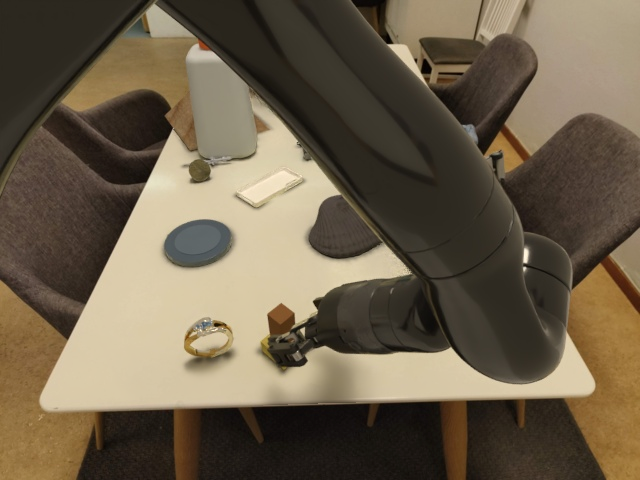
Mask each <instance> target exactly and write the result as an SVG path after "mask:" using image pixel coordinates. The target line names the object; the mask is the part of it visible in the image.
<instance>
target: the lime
mask: <svg viewBox="0 0 640 480" xmlns="http://www.w3.org/2000/svg"><path fill="white" fill-rule="evenodd" d="M204 160H205V159H202V158H199V159H194V160H193V161H191V162H190V163H189V164H190V165H188V167H189V168H188V173H189V175H190V177H191V178H192V179H193V180H194V181H197V182H204V181H206V180H207V179H208V178H209V177H210V176H211V172H212V168H211V166H210V163H207V162H205V161H206V160H205V161H204Z"/></svg>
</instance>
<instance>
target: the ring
mask: <svg viewBox="0 0 640 480" xmlns="http://www.w3.org/2000/svg"><path fill="white" fill-rule="evenodd" d="M193 333H195V334H193ZM216 333H222V334H224V335H226V336H227V341H226V343H225V344H223V345H222V346H221V347H218V348H211V349H209V350H201V349H197V348H195V347H193V346H192V345H191V344H193V343H194V342H195V341H196V340H198V339H199V338H201V337H207V336H208V335H212V334H216ZM233 343H234V334H233V329H232V328H231V327H230V326H229V325H228V324H227V323H226V322H223V321H220V320H216V319H212V318H211V317H209V316H208V317H207V316H205V317H202V318H200V319H198V320H197V321H195V322H193V324H191V326H189V328H188V329H187V330H186V332H185V334H184V339H183V349H184V351H185V352H186V353H187V354H189V355H190V356H194V357H197V358H211V359H214V358H216V357H218V356H221V355H223V354H225V353H226V352H228V351H229V350H230V349H231V348H232V346H233Z"/></svg>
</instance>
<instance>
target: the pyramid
mask: <svg viewBox="0 0 640 480" xmlns="http://www.w3.org/2000/svg"><path fill="white" fill-rule="evenodd" d="M164 118H165V119H166V120H167V122H168V123H169V124H170V125H171V127H172V128H173V130H174V131H175V133H176V134H177V135H178V137H179V138H180V139H181V141H182V142H183V143H184V144H185V146H186V147H187V148H188V150H189V151H194V150H198V146H197V139H196V132H195V125H194V118H193V111H192V104H191V97H190V90H189V91H188V92H187V93H185V95H184V96H183V97H182V98H181V99H180V100H179V101H178V102H176V103H175V105H173V107H172V108H171V109H170V110H169V111H168V112H167V113H166V114H165V115H164ZM254 120H255V125H256V130H257V134H260V133H263V132H267V131H271V128H270V127H269V126H268V125H266V124H265V123H264V122H263V120H261V119H260V118H259V117H258V116H256V114H254Z"/></svg>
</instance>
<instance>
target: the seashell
mask: <svg viewBox="0 0 640 480" xmlns="http://www.w3.org/2000/svg"><path fill="white" fill-rule="evenodd" d="M308 240H309V243H310V244H311V246H312V247H313V248H314V249H315V250H317V251H318V252H319V253H322V254H323V255H325V256H329V257H331V258H337V259H340V258H343V259H344V258H345V259H346V258H350V257H356V256H359V255H361V254H364V253H366V252H367V251H370V250H371V249H372V248H374V247H377V246H378V245H379V244H381V243H383V242H382V241H381V240H380V239H379V238H378V237H377V235H376V234H375V233H374V232H373V231H372V230H371V229H370V228H369V227H368V226H367V224H366V223H365V222H364V221H363V220H362V219H361V218H360V217H359V215H358V214H357V213H356V212H355V211H354V210H353V208H352V207H351V206H350V205H349V204H348V202H347V201H346V200H345V199H344V198H343V196H342V195H341V194H337V195H331V196H329V197H327V198H325V199H324V200H323V201H322V202H321V203H320V205H319V207H318V210H317V215H316V219H315V222H314V224H313V226H312V227H311V228H310V231H309V233H308Z"/></svg>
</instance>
